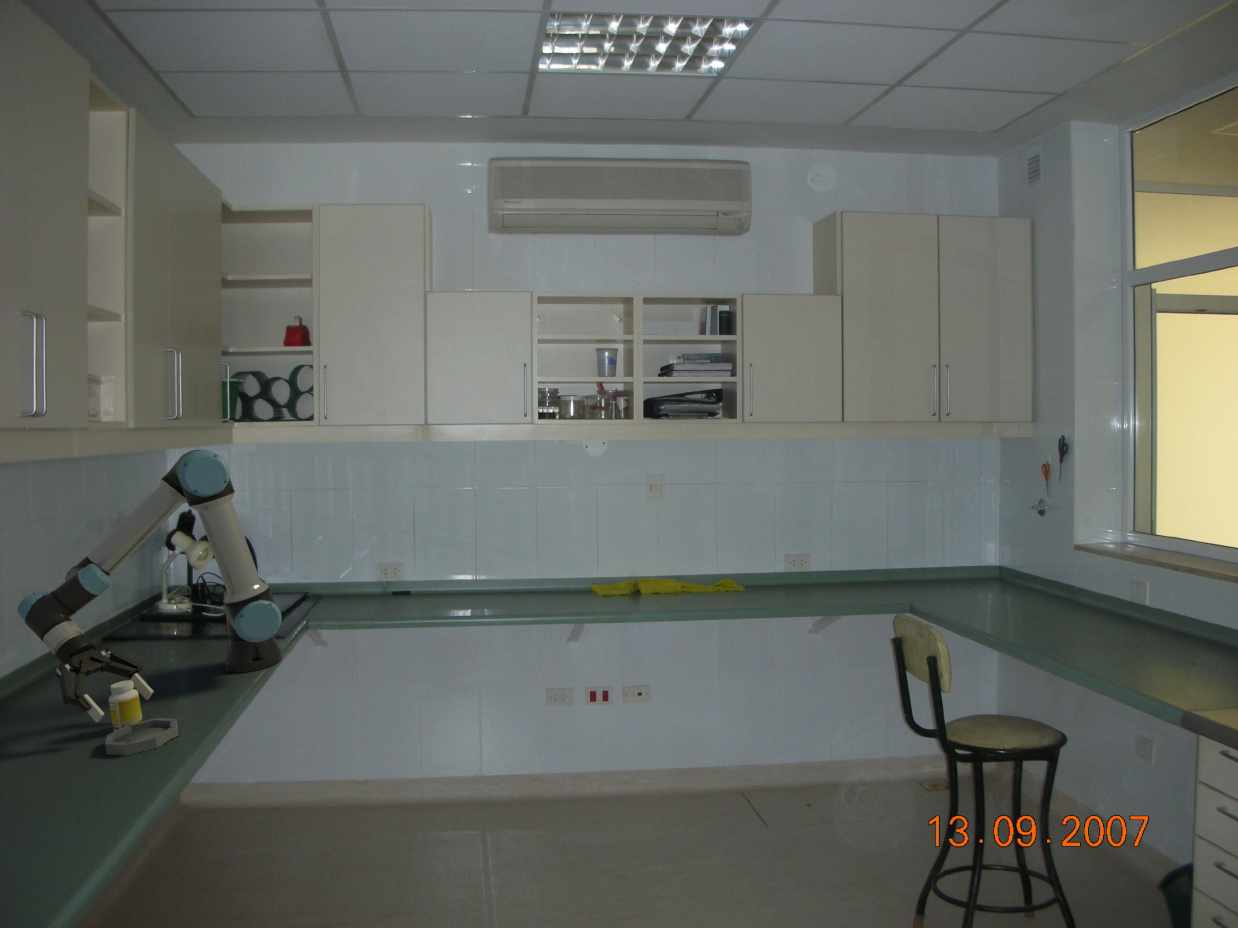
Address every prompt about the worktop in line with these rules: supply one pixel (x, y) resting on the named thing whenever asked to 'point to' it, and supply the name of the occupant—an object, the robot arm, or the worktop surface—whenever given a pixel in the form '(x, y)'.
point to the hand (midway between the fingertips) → (126, 706)
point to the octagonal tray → (141, 736)
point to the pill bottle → (124, 705)
